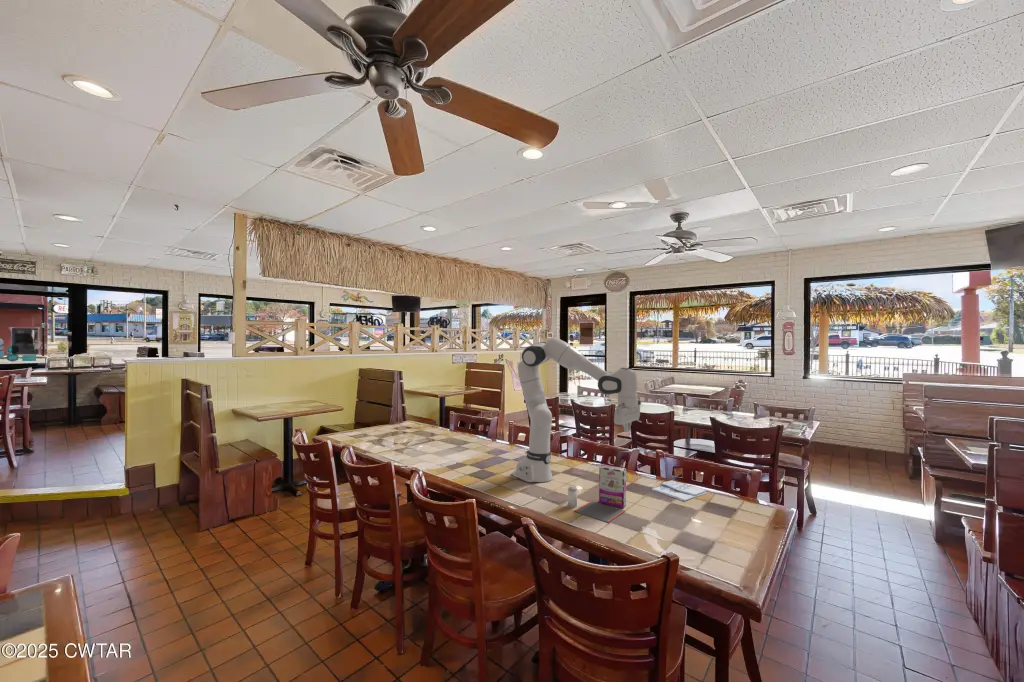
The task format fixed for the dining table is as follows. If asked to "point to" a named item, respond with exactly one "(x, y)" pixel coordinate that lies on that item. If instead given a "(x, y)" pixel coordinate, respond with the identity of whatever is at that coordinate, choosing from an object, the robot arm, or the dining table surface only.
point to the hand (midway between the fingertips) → (627, 431)
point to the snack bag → (686, 490)
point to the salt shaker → (572, 497)
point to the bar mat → (600, 511)
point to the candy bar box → (612, 486)
